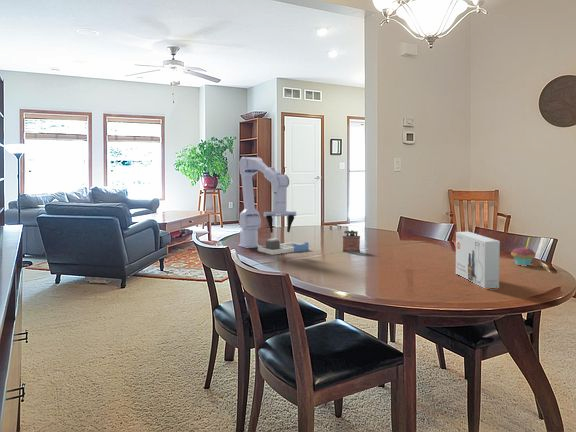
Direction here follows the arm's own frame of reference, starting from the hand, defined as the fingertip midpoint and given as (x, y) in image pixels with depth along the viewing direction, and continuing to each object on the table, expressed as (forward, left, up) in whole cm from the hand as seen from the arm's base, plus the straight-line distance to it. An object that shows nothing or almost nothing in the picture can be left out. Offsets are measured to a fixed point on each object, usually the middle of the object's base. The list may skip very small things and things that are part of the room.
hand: (280, 232), depth 203 cm
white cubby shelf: (-6, +7, -10) cm, 14 cm away
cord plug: (-7, +1, -10) cm, 12 cm away
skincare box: (+80, +25, -10) cm, 85 cm away
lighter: (+15, +30, -10) cm, 35 cm away
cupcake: (+77, +64, -10) cm, 101 cm away
